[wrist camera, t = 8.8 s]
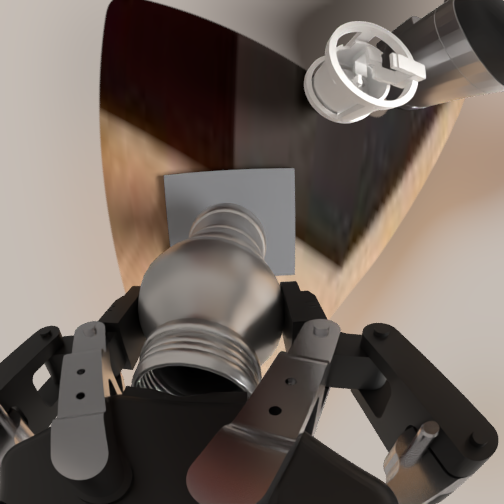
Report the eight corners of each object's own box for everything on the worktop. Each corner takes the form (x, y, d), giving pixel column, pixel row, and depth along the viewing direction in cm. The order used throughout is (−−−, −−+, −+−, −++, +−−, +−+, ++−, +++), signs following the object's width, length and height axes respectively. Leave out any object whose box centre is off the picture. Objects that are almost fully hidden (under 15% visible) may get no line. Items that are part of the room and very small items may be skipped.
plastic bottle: (223, 280, 27) (195, 475, 8) (180, 226, 25) (50, 366, 6) (278, 243, 26) (352, 418, 7) (235, 184, 24) (202, 243, 5)
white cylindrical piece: (351, 134, 28) (429, 116, 14) (292, 126, 28) (334, 90, 13) (352, 80, 26) (421, 33, 11) (294, 70, 26) (331, 3, 11)
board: (166, 175, 29) (163, 175, 28) (292, 168, 29) (294, 168, 28) (176, 275, 32) (174, 279, 31) (292, 270, 33) (294, 274, 31)
